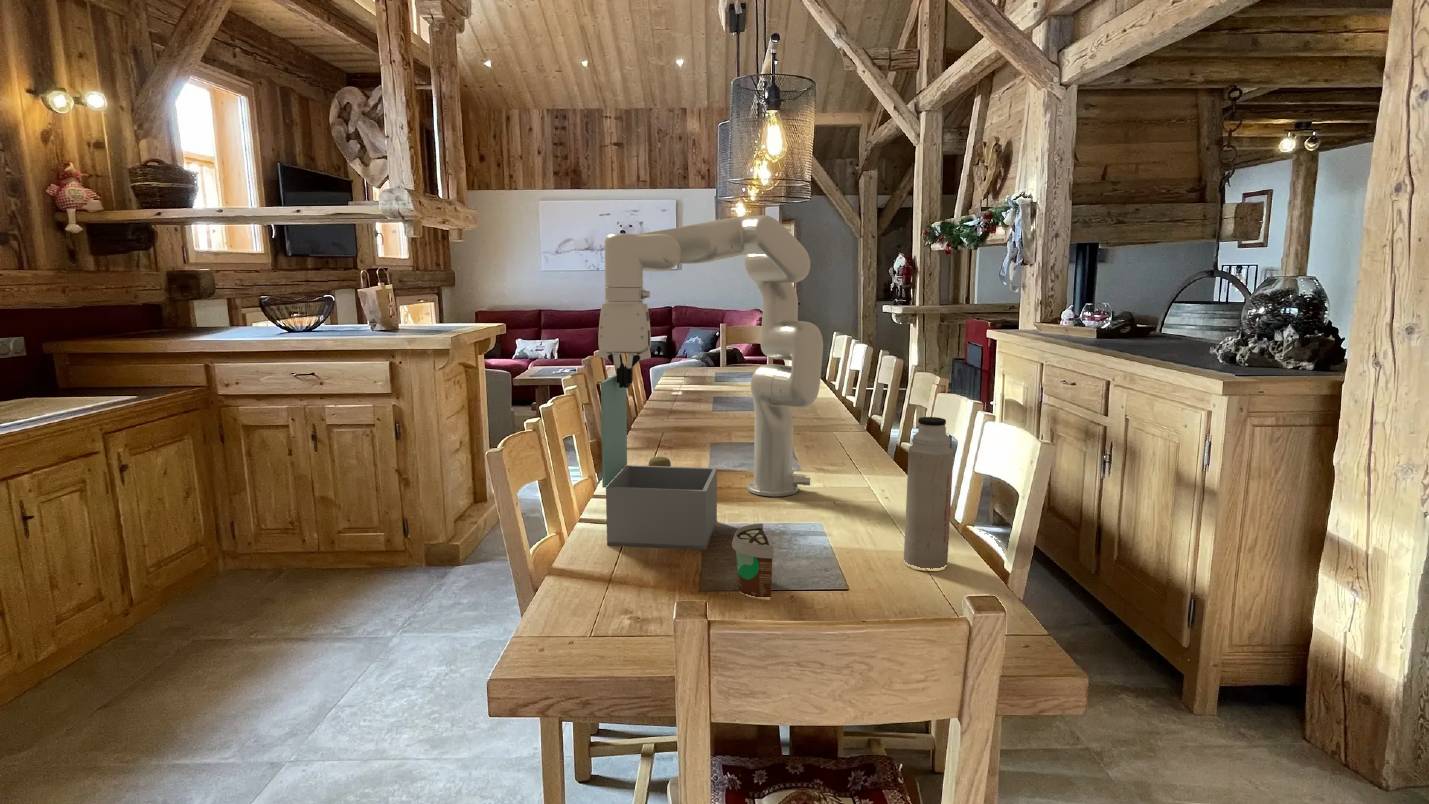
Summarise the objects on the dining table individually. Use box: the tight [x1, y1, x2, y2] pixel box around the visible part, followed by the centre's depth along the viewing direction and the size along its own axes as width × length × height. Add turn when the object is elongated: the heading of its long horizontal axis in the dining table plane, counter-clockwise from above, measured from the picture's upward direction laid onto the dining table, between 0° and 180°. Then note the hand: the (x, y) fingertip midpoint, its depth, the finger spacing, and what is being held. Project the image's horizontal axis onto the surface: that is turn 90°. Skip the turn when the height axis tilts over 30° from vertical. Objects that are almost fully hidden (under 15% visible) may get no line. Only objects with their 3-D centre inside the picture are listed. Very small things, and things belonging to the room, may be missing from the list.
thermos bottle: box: [903, 416, 955, 569], centre depth 146 cm, size 8×8×28 cm
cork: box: [647, 456, 672, 467], centre depth 186 cm, size 6×6×11 cm
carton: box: [605, 464, 718, 551], centre depth 165 cm, size 20×18×12 cm
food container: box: [731, 523, 774, 598], centre depth 136 cm, size 12×6×10 cm, turn 5°
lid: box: [600, 373, 628, 489], centre depth 163 cm, size 21×19×1 cm
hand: (624, 386), depth 161 cm, fingers closed
